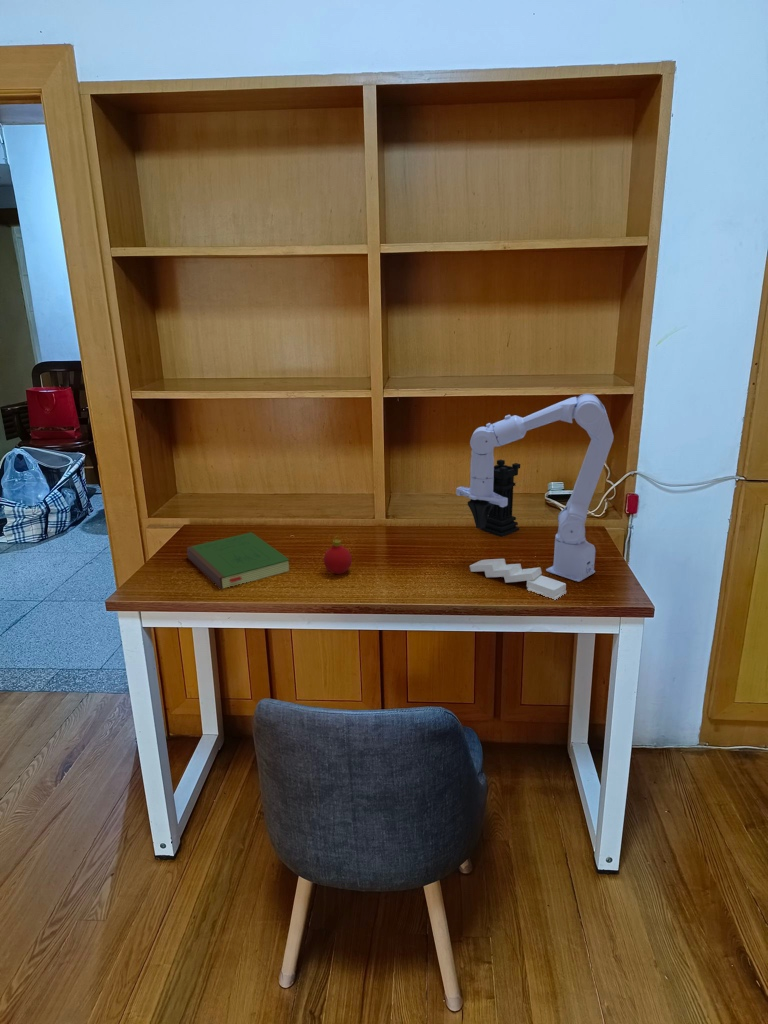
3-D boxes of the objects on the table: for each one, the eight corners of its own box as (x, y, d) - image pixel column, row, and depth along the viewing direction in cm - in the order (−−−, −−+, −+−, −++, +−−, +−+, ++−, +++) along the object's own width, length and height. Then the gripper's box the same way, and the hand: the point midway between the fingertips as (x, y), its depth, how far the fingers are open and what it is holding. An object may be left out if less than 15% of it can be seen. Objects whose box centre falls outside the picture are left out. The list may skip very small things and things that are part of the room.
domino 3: (514, 576, 170) (541, 573, 165) (505, 582, 166) (533, 579, 161) (513, 570, 170) (540, 567, 165) (503, 576, 166) (531, 573, 161)
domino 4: (538, 580, 166) (565, 589, 160) (526, 587, 162) (553, 596, 157) (539, 574, 165) (566, 583, 160) (526, 580, 162) (554, 590, 157)
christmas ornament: (346, 564, 179) (344, 529, 175) (356, 575, 173) (355, 538, 169) (320, 570, 176) (318, 534, 173) (330, 580, 170) (328, 543, 167)
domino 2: (497, 571, 173) (521, 569, 167) (486, 577, 170) (510, 576, 164) (496, 565, 173) (520, 563, 167) (484, 571, 169) (508, 569, 164)
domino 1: (483, 565, 176) (506, 564, 170) (470, 571, 173) (493, 570, 167) (481, 559, 176) (504, 558, 170) (469, 565, 173) (492, 564, 167)
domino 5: (538, 587, 166) (565, 596, 161) (526, 594, 162) (555, 604, 157) (538, 581, 165) (566, 590, 160) (527, 588, 162) (555, 597, 157)
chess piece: (480, 529, 200) (482, 464, 194) (497, 523, 205) (500, 458, 199) (501, 537, 195) (504, 469, 188) (519, 529, 200) (522, 464, 193)
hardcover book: (188, 560, 185) (186, 547, 184) (252, 544, 195) (251, 532, 194) (222, 593, 166) (220, 579, 164) (291, 573, 175) (290, 560, 174)
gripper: (448, 474, 171) (448, 524, 175) (496, 485, 161) (494, 538, 166) (466, 468, 176) (465, 517, 180) (513, 478, 166) (511, 531, 170)
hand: (480, 527), depth 173 cm, fingers closed
